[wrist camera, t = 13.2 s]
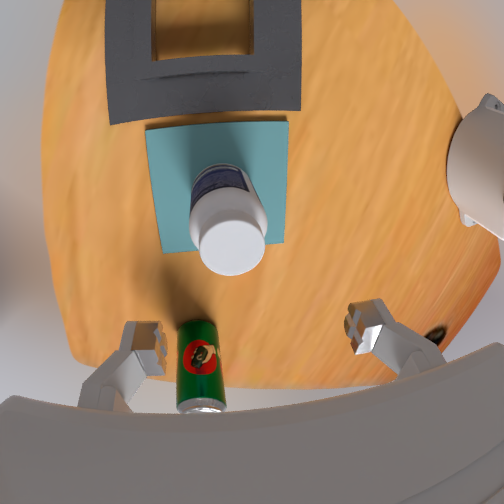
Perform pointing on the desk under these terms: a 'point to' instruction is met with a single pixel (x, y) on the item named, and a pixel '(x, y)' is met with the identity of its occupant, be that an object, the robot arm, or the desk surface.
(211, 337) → the soda can
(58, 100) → the desk surface
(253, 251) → the pill bottle
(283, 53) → the square frame
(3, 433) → the robot arm
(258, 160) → the mat
